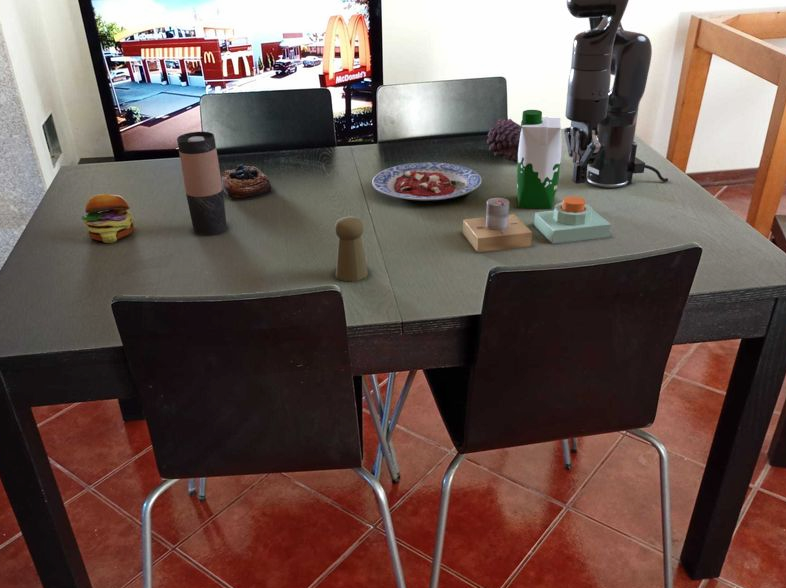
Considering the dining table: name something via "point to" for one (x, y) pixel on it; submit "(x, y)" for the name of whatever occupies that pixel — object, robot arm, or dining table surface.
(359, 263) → the wooden pawn
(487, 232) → the panel
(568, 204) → the orange button cap
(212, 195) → the travel mug
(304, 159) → the dining table surface
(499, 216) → the dial
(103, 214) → the cheeseburger
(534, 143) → the milk carton
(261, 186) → the pastry
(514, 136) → the purple grape bunch
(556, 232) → the button base
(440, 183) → the ceramic plate
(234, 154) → the dining table surface
